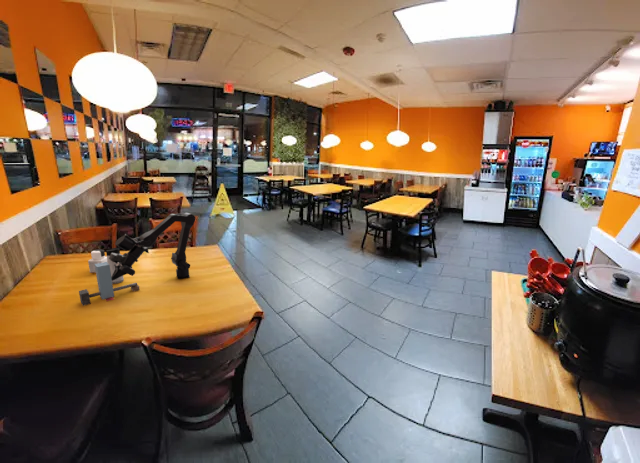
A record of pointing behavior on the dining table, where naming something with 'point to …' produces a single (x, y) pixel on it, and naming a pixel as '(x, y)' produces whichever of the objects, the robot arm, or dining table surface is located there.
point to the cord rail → (86, 296)
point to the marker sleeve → (104, 280)
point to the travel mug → (112, 267)
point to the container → (96, 259)
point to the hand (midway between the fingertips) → (111, 280)
